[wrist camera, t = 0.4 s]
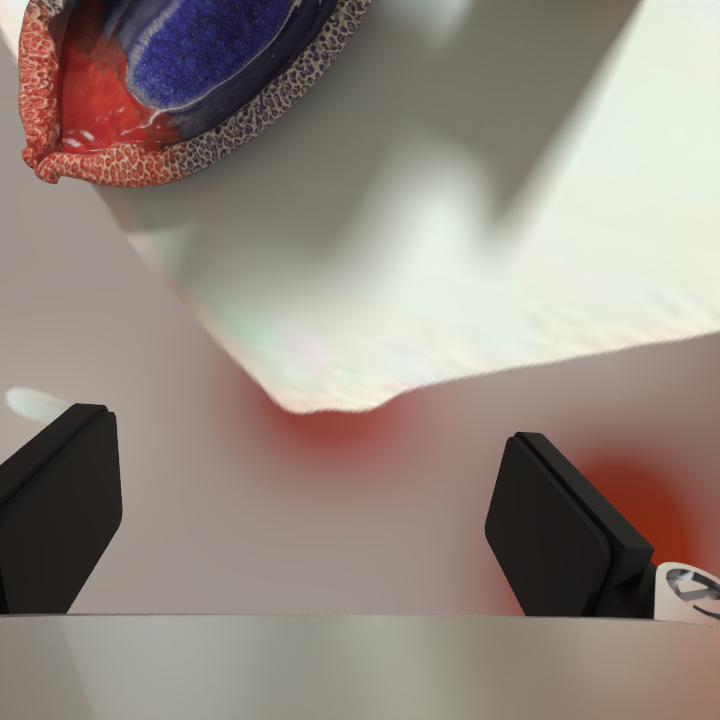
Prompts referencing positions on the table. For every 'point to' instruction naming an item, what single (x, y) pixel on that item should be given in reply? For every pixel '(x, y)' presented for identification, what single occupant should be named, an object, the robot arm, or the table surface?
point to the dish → (165, 80)
